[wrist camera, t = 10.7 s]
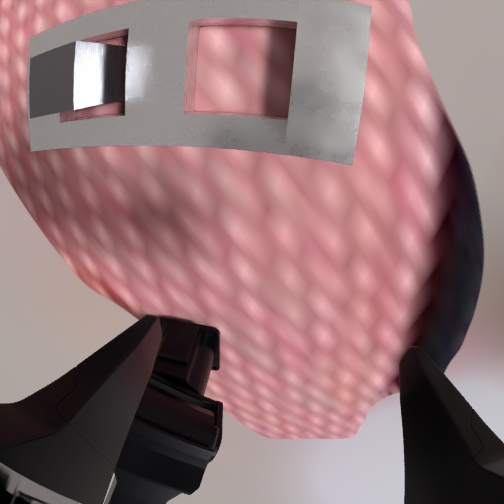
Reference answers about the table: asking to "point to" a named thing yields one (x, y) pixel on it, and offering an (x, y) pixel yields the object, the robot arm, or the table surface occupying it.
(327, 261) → the table surface
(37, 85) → the dark grey block
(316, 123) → the metal plate with holes
